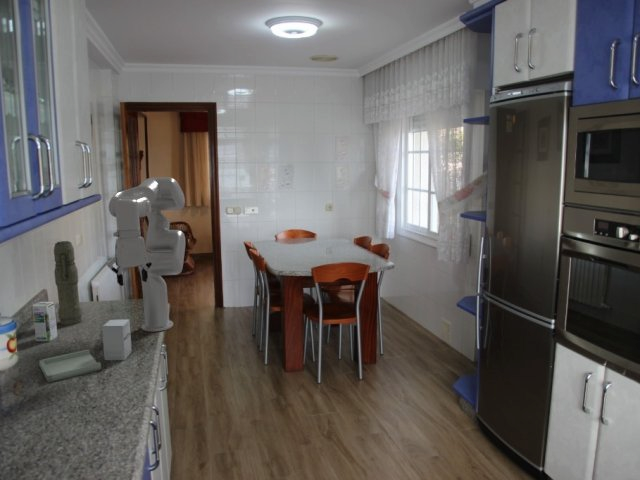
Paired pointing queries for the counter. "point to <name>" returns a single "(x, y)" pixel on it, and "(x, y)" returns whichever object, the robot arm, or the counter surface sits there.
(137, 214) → the robot arm
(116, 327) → the supplement box
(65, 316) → the stone figurine
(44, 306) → the syrup box
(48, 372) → the tray
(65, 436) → the counter surface
